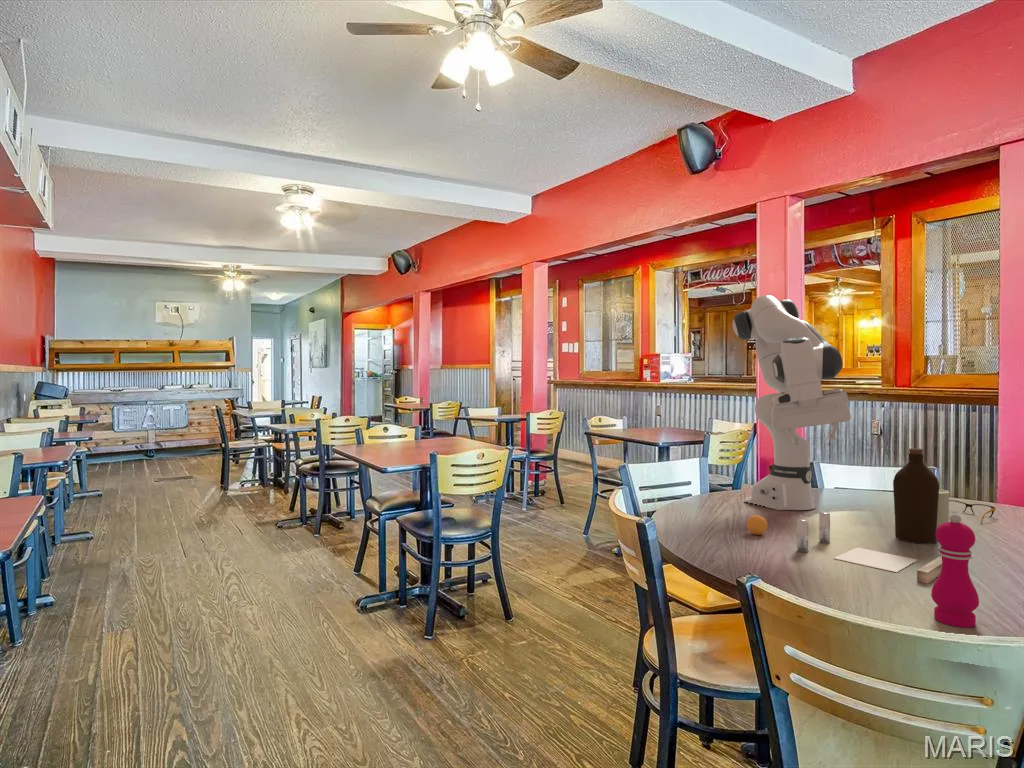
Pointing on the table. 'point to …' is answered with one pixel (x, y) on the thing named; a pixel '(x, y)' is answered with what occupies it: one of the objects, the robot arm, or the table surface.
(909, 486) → the olive oil
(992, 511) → the eyeglasses
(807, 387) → the robot arm
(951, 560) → the pepper mill
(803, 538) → the post
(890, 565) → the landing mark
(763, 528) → the ball
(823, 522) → the post
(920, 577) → the wall
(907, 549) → the table surface
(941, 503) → the can
